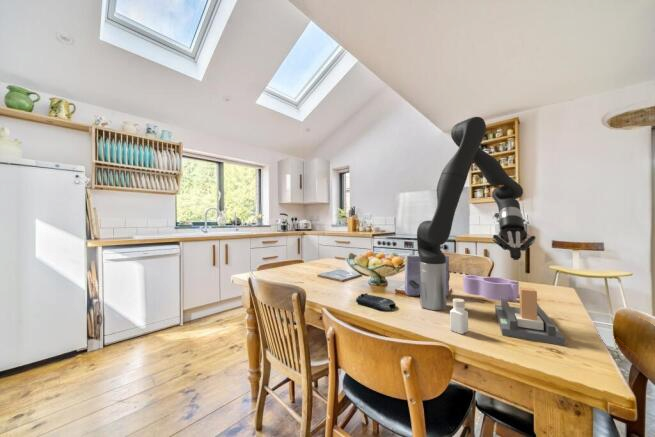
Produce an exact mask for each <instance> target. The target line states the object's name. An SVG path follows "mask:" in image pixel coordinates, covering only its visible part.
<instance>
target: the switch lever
mask: <svg viewBox="0 0 655 437" xmlns="http://www.w3.org/2000/svg"><path fill="white" fill-rule="evenodd" d="M537 304H538V291H537V290H536V289H535V288H532V287H519V308H520V314H519V313H515V319H516V321H517V327H524V328H530V329H537V330H544V326H543V321H542V320H541V318H540V317H539V316H537Z"/></svg>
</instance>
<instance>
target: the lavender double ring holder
mask: <svg viewBox="0 0 655 437" xmlns="http://www.w3.org/2000/svg"><path fill="white" fill-rule="evenodd" d="M519 286H520V284H519V281H518V280H512V279H510V278H504V277H497V276H480V275H475V274H474V275H473V274H465V276H462V288H463V289H462V292H463V293H465V294H468V295H474V296H475V295H476V296H479V297H480V296H481V297H483V298H486V299H489V300H494V301H499V302H501V298H502V299H506V300H507V302H508V301H511V302H514V303H515V302H516V303H517V299H518V298H519V299H520V287H519Z"/></svg>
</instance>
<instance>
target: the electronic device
mask: <svg viewBox="0 0 655 437" xmlns="http://www.w3.org/2000/svg"><path fill="white" fill-rule="evenodd" d="M355 302H356V303H357V305H358V304H359V305H363V306H366V307H369V308H373V309H375V310H378V311H384V312H388V311H393V310H394V309H395V308H396V306H397V305H396V302H395V301H394V300H393V299H390V298H386V297H382V296H377V295H373V294H372V295H371V294H369V293H367V292H365V293H360V295H358V296H357V297H356V299H355ZM390 306H392V307H393V308H391V307H390Z"/></svg>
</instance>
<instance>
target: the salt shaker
mask: <svg viewBox="0 0 655 437" xmlns="http://www.w3.org/2000/svg"><path fill="white" fill-rule="evenodd" d="M465 303H466V302H465V300H464V299H462V298H453V299H452V307H453V308H452V309H451V310H449V329H450V331H452V332H455V333H456V334H457V333H458V334H461V335H463V334H465V333H467V332H468V331H469V312H468V310H465V306H466V304H465Z"/></svg>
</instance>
